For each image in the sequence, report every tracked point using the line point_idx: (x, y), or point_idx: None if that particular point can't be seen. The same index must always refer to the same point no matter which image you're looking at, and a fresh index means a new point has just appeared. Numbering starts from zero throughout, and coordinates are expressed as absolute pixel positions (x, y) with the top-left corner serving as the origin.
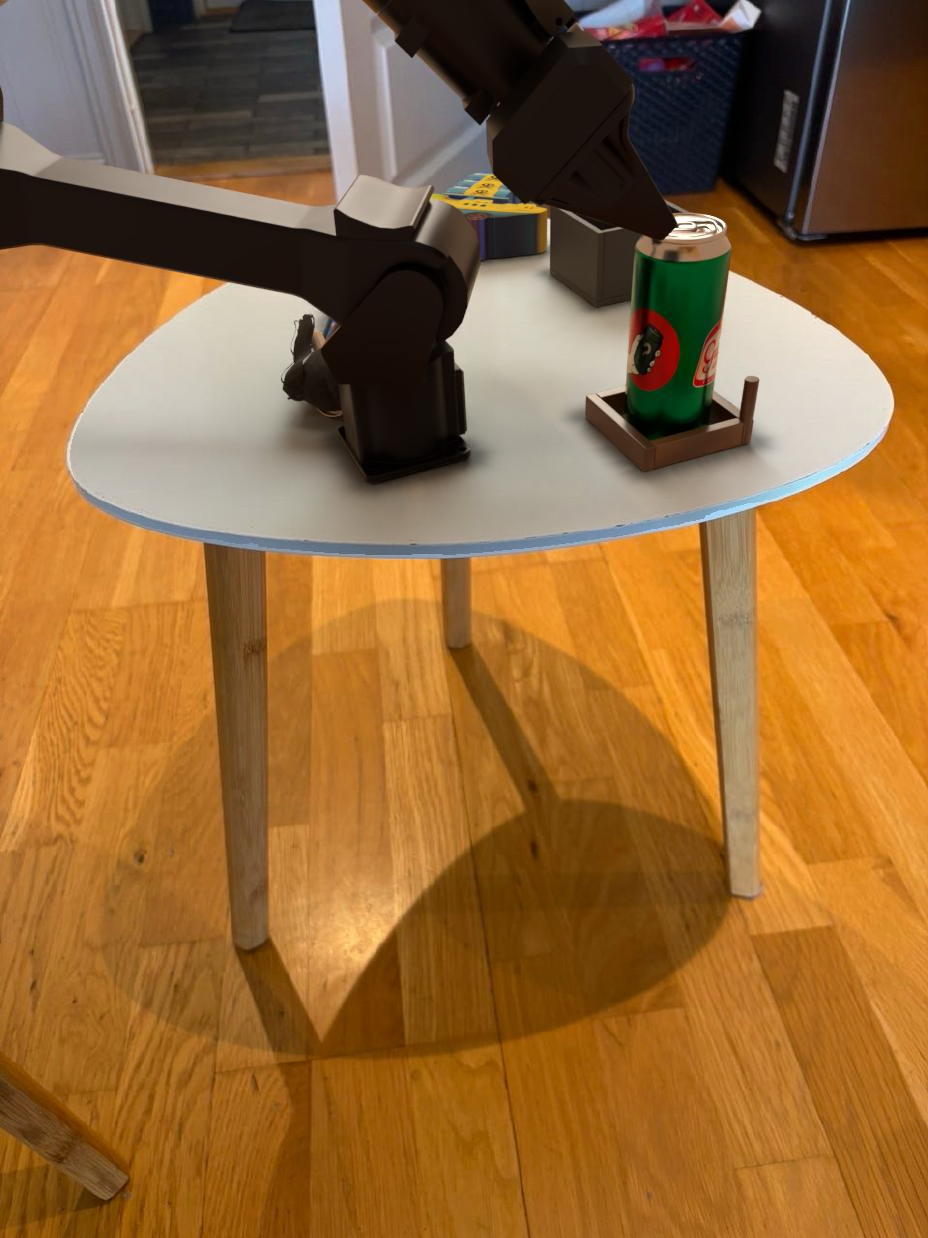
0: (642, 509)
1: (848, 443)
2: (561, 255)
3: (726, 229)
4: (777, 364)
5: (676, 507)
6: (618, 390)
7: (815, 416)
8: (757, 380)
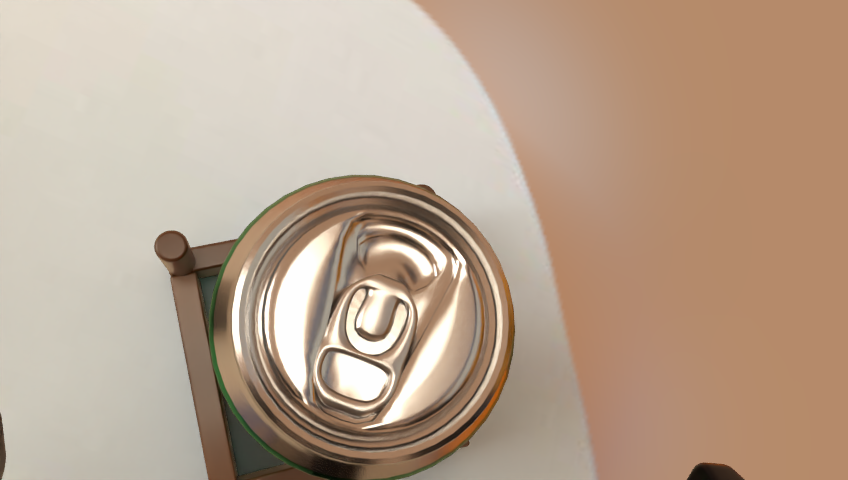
0: (567, 476)
1: (443, 61)
2: None
3: (444, 201)
4: (107, 28)
5: (571, 416)
6: (213, 432)
7: (341, 65)
8: (432, 191)
